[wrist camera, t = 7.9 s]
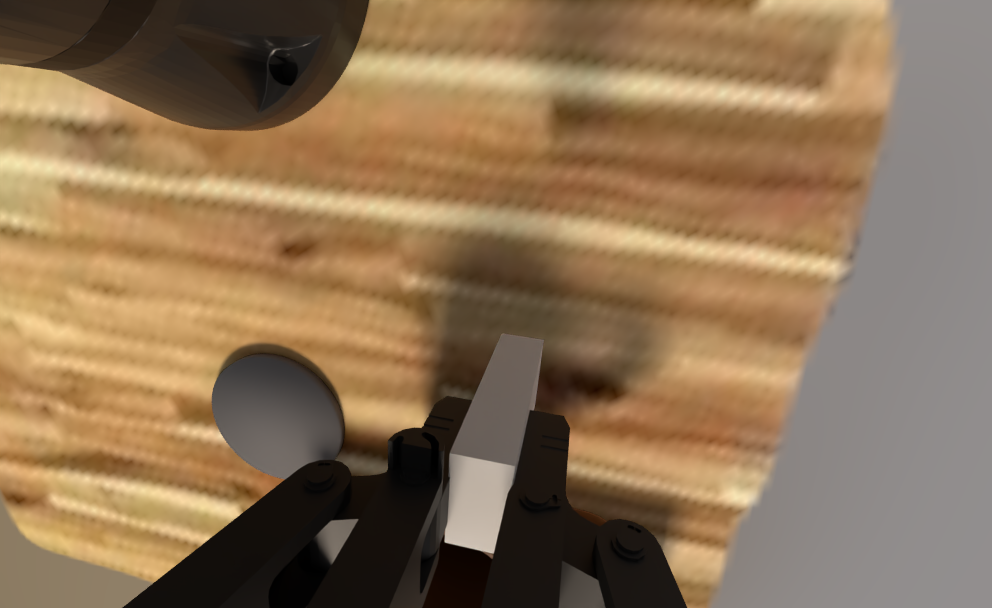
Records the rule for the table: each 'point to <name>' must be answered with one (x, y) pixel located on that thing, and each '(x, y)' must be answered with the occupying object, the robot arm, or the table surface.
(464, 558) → the mug
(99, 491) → the table surface
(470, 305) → the table surface
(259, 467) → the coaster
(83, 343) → the table surface
